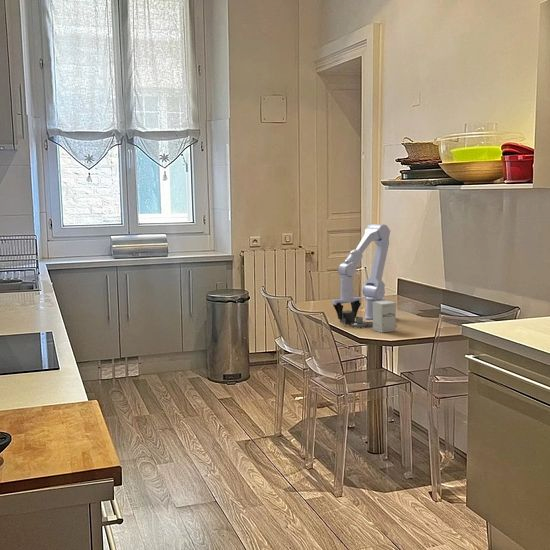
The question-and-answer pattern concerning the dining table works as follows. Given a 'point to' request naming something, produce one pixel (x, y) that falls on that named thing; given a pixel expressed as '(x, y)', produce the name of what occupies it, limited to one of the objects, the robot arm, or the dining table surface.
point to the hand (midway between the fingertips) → (347, 318)
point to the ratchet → (361, 323)
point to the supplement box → (384, 316)
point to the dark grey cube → (348, 317)
